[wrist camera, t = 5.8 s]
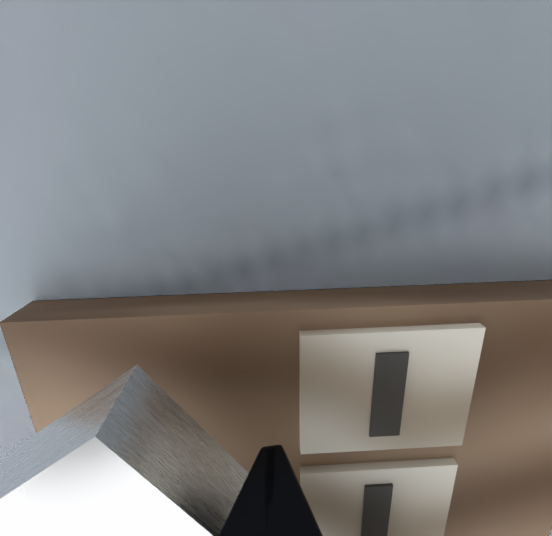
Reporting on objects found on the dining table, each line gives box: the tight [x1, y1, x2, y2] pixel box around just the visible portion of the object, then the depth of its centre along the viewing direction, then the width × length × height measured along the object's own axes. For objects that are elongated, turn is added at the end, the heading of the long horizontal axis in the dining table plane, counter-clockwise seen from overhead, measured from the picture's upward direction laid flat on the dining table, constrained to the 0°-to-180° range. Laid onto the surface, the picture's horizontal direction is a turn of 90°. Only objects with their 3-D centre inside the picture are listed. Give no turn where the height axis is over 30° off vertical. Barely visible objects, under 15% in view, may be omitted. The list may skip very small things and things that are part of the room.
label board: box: [0, 280, 552, 536], centre depth 12 cm, size 16×19×4 cm
